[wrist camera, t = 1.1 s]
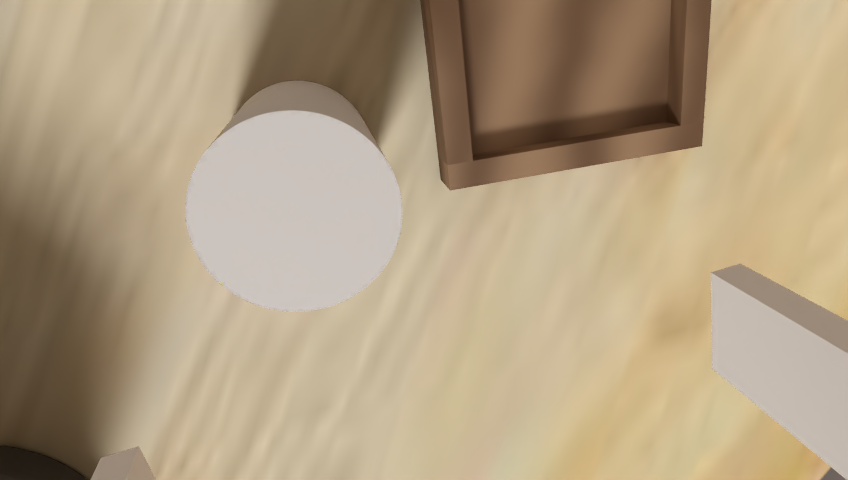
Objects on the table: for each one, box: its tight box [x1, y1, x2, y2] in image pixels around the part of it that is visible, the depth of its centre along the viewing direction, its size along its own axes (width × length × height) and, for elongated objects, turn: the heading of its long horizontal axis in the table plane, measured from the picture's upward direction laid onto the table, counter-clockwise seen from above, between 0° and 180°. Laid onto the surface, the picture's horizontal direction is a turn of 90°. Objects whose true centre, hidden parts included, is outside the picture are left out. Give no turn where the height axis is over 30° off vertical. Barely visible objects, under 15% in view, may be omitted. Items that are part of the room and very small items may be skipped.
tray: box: [420, 0, 711, 190], centre depth 32 cm, size 16×16×2 cm
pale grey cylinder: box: [186, 80, 402, 312], centre depth 27 cm, size 8×8×12 cm
